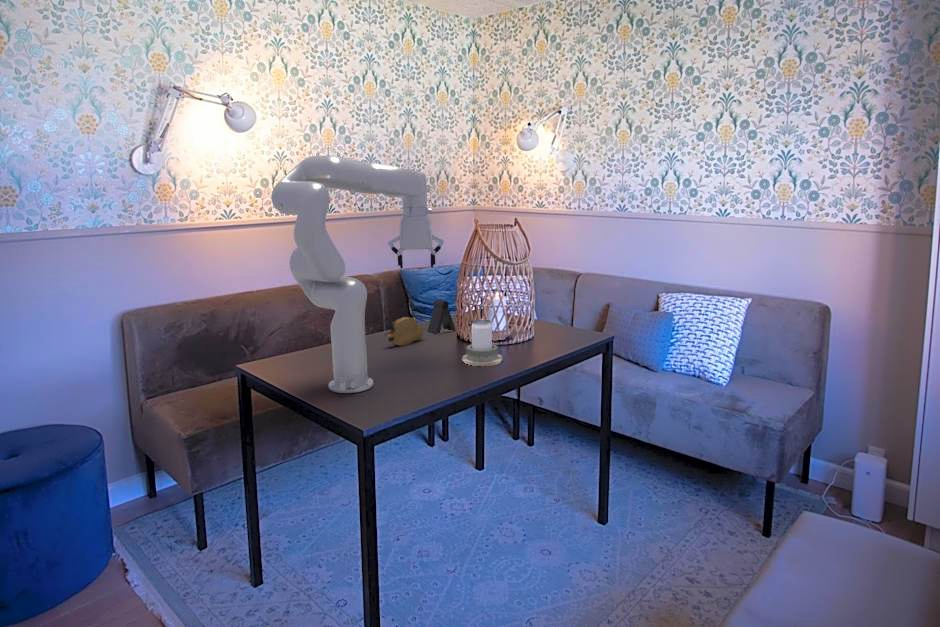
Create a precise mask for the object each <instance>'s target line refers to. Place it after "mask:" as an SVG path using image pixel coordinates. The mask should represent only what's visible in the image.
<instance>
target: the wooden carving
mask: <svg viewBox="0 0 940 627" xmlns="http://www.w3.org/2000/svg"><path fill="white" fill-rule="evenodd" d="M418 324H419V323H418V320H417V318H416V317H414V316H412V317H409V316H403V317H400V318H398V319H395V321H392V322H391V324H390V331H389V332H386V333H385V332H384V336H386V337H388V339H387V340H388V341H389V342H390V343H391V344H394V345H397V346H400V347H401V346H403V345H404V346H407V345H410V344H411V343H413V342H414V341H415V340H416V341H417V340H421V339H422V338H423V337H422V336H423V334H424V331H425V327H423V326H420V325H418ZM406 344H407V345H406Z"/></svg>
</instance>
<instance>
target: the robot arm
mask: <svg viewBox="0 0 940 627" xmlns="http://www.w3.org/2000/svg"><path fill="white" fill-rule="evenodd" d="M328 189H334V190H341V191H348V192H354V193H361V194H367V195H368V194H369V195H370V194H371V195H374V194H376V195H378V194H379V195H380V194H382V195H383V196H386V197H390V198H401V199H402V200H401V201H402V216H401V217H400V219H399V235H397V236H396V237H393V238H392V239H391V240H389V241H388V243H387V244H388V246H389V247H390V250H391V251H392V252H393V253H394V254H396V256H397V266H399V267H400V268H399V269H401V270H402V269H403V268H404V266H403V265H404V264H403V262H404V261H403V254H402V253H403V252H404V251H405V250H408V251H409V250H410V251H411V250H428V251H429V252H430V257H429V258H430V268H434V265H435V266H436V255H437V254H438V252H440V250H441V248H442V246H443V244H444V240H443V239H442V238H440V237H438V236H436V235H434V234H433V232H432V224H431V218H430V216H428V215H429V214H432V212H433V210H432V208H430V207H428V197H427V196H428V195H427V191H428V190H427V175H426V173H425V172H422V171H417V170H413V169H408V168H405V167H400V166H392V165H391V166H390V165H385V164H378V163H373V162H367V161H362V160H357V159H353V158H349V157H343V156H339V155H333V154H332V155H331V154H330V155H313V156H311V155H310V156H308V157H306V158H304V159H303V160H301V161H300V162H298V163H297V165H295V166H294V167H293V168H292V169H291V170H290V171H289V172H288V173H287V174H285V175H284V176H283V177H282V178H281V179H280V180H279V181H278V182H277V183H276V184H275V185H274V187H273V190H272V192H271V196H270V198H271V202H272V203H271V204H272V205H273V207H274V209H275V210H277V211H278V212H280V213H281V214H285V215H295V216H297V217H296V219H295V224H294V228H293V238H294V242H295V244H296V246H297V247H296V248H295V249H294V250H292V252H291V254H290V257H289V268H290V272H291V275H292V276H293V278H294V279H295V281H296V282H297V284H298V286H299V287H300V288H301V290H302V291H303V293H304V294H305V295H306V297H307V298H308V299H309V301H310V302H311V303H312V305H315V306H316V307H319V308H320V309H321V308H322V309H327V310H334V315H333V318H332V320H331V322H330V340H331V357H332V359H331V360H332V372H333V379H332V380H331V381H329V382H328V389H329V390H330V391H332V392H333V393H339V394H353V393H360V392H364V391H367V390H369V389H371V388H372V387H373V386H374V379H373V378H371V377H368V362H367V357H368V356H367V342H366V341H367V340H366V338H367V337H366V320H365V317H366V316H365V315H366V305H367V299H368V290H367V287H366V286H365V284H364V282H362V281H360V280H359V279H358V278H354V277H350V276H344V275H345V272H346V264H345V261H344V259H343V257H342V255H341V253H340V252H339V250H338V249H337V247H336V245H335V243H334V242H333V240H332V238H331V237H330V235H329V233H328V231H327V227H326V226H327V225H326V220H327V218H326V217H327V214H328V210H329V207H330V203H331V202H330V201H331V200H330V199H331V196H330V193H329V190H328ZM433 241H435V242H437V246H436V247H434V248H433ZM397 242H399V246H400V248H399V249H398V248H397V247H396V245H395V243H397Z"/></svg>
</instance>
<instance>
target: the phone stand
mask: <svg viewBox="0 0 940 627" xmlns="http://www.w3.org/2000/svg"><path fill="white" fill-rule="evenodd" d="M449 309H450V308H449V302H448V301H445V300H442V299H435V300H434V301H433V309H432V312H431V313H432V314H431V316H430V320H429V323H428V324H429V325H428V328H427V332H428V331H430V332H429V333H431V332H433V333H432V334H434V333H440V330H441V328H444V329H448V330H455V329H456V327H455V324H454V321H453V317H452V316H451V312H450V310H449Z"/></svg>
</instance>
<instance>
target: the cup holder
mask: <svg viewBox="0 0 940 627" xmlns="http://www.w3.org/2000/svg"><path fill="white" fill-rule="evenodd" d="M498 348H499V347H498V346H497V345H496V344H493V343H492V349H491V350H482V351H479V350H473V349H472V343H470V344H468V345H467V346H466V353H465V354H464V355H462V357H461V362H462V361H463V362H464V363H465V365H466V364H468V365H467V366H470V365H472V366H471V367H477V366H481V367H482V368H484V367H485V366H486V367H493V366H496V365H500V364H502V363H503V356H502V355H501V354H498V352H499V350H498ZM463 362H462V363H463ZM464 363H463V364H464Z"/></svg>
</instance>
